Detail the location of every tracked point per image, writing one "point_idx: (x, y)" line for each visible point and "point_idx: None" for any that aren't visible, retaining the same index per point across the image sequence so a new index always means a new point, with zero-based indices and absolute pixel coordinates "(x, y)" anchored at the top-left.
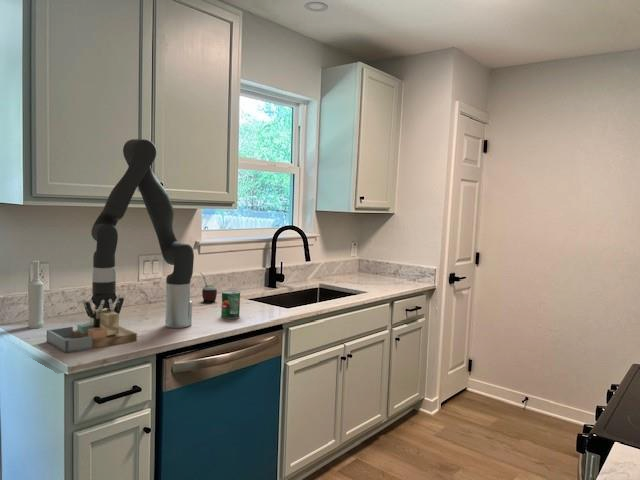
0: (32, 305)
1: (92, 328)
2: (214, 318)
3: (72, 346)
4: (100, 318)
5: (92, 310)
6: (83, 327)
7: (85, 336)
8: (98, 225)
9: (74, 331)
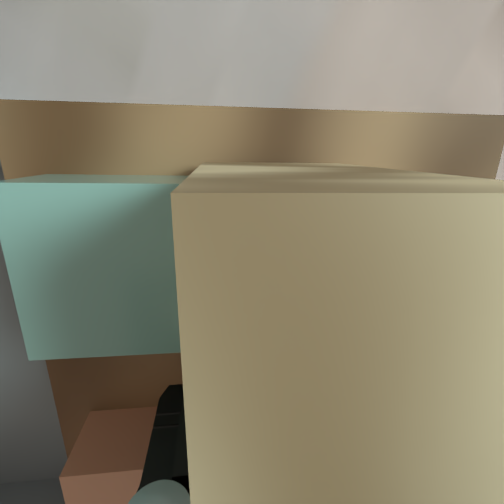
0: None
1: (114, 473)
2: None
3: None
4: None
5: (186, 389)
6: (47, 352)
7: (72, 406)
8: None
9: (11, 164)
